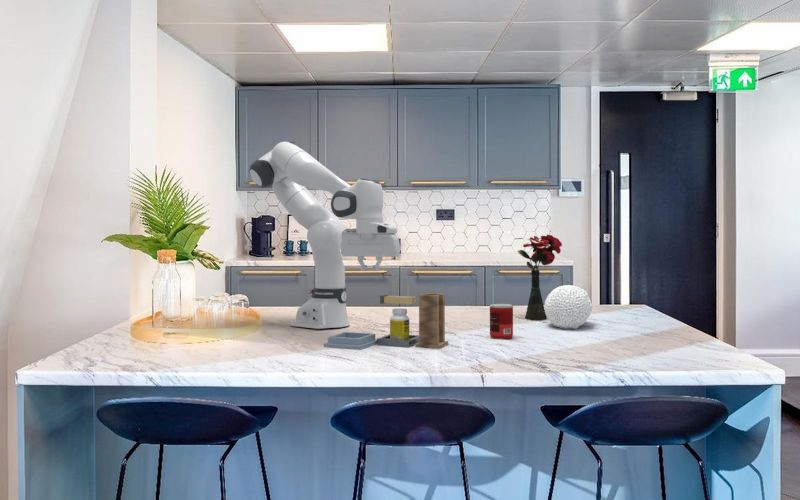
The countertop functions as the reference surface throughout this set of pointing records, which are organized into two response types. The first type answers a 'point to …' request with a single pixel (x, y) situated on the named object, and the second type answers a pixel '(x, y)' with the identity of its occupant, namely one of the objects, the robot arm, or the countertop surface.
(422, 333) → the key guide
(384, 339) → the socket
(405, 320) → the pill bottle
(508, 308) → the canned food
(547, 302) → the white textured ball
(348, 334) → the tray
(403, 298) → the bar
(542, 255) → the carnation
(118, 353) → the countertop surface
